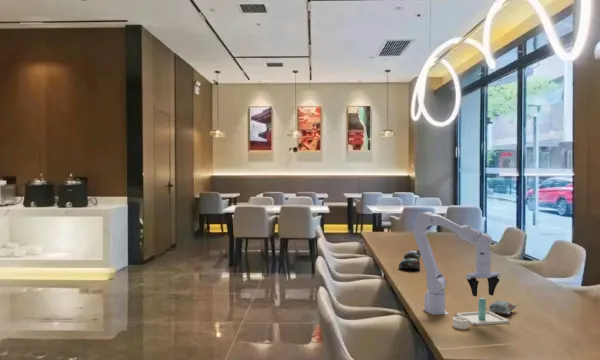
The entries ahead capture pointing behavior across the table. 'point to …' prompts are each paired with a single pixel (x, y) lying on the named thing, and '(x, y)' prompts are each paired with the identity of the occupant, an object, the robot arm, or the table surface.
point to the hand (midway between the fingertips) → (482, 295)
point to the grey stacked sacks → (410, 260)
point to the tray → (490, 319)
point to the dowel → (482, 309)
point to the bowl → (460, 322)
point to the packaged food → (502, 307)
